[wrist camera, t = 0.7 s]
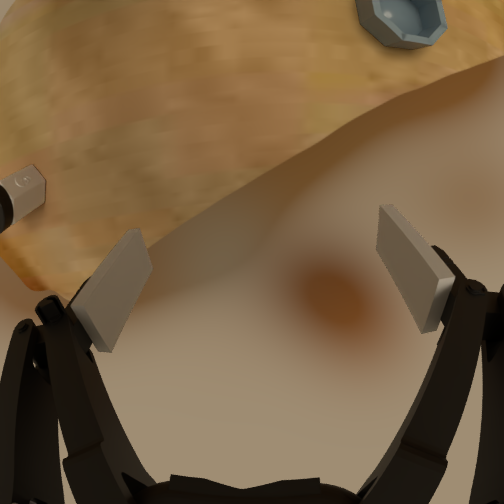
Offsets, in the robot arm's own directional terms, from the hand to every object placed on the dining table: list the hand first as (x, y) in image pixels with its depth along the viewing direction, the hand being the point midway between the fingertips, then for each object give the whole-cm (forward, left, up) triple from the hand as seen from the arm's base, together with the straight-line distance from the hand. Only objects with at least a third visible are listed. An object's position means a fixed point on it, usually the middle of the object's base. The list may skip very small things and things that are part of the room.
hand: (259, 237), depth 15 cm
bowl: (-20, +21, -27) cm, 39 cm away
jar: (-3, -43, -27) cm, 50 cm away
